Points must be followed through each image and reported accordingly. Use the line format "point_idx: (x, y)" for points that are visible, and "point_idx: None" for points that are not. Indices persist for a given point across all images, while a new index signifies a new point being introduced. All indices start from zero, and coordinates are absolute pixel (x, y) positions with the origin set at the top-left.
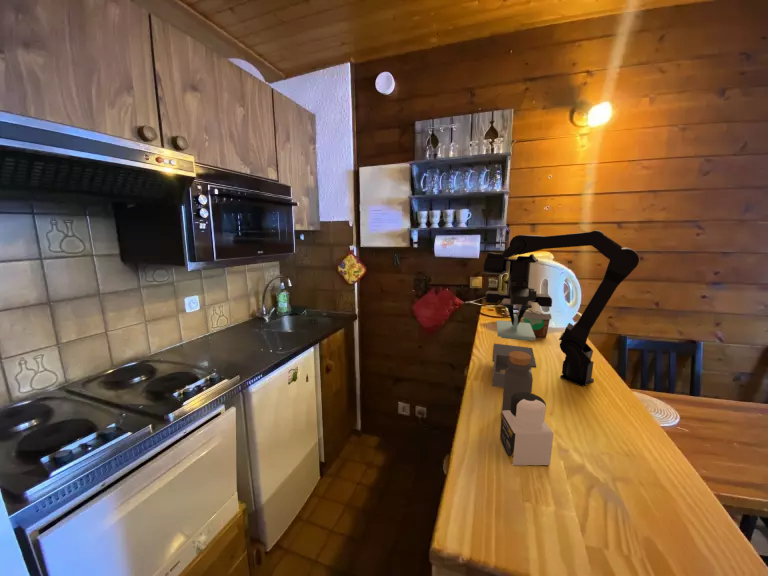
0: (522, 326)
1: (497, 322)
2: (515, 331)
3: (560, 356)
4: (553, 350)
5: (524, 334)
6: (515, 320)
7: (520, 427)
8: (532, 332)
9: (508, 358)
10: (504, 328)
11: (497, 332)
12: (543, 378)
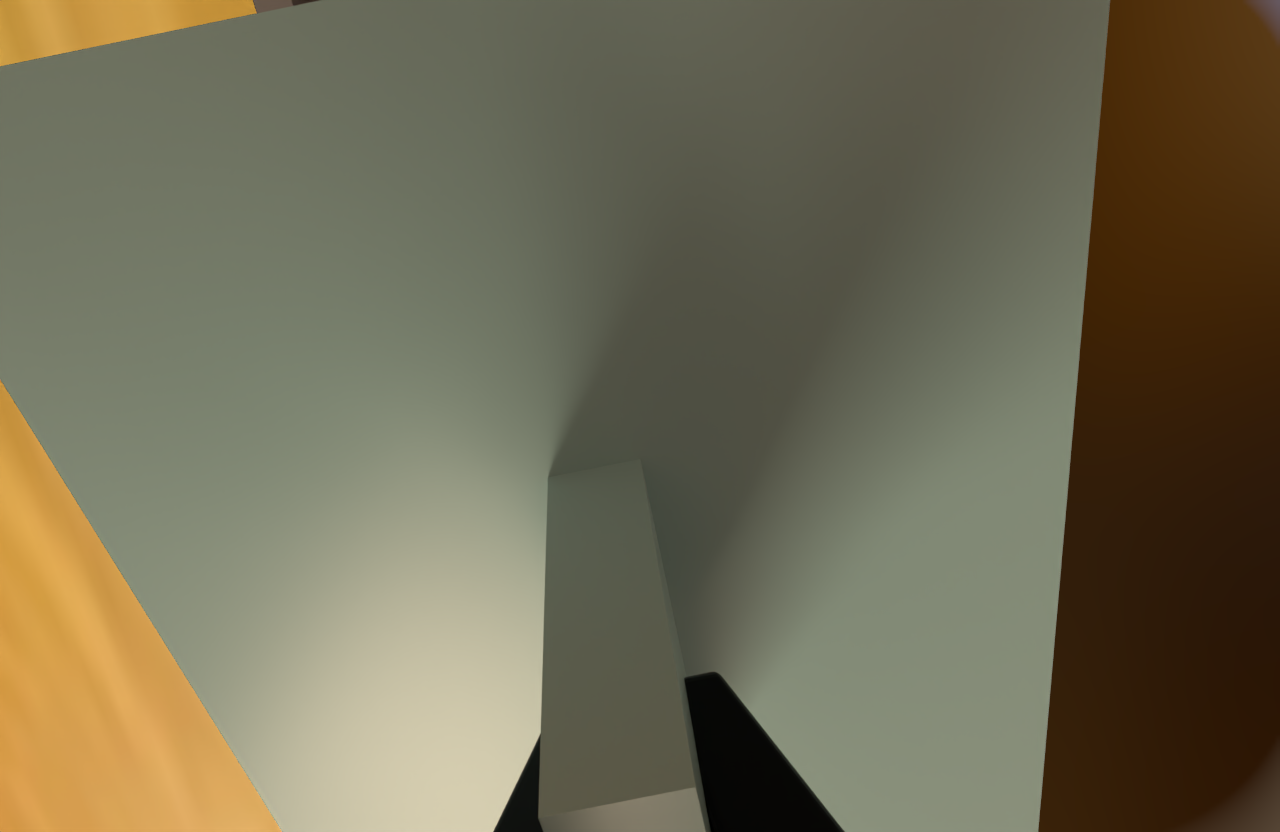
0: (490, 821)
1: (1029, 807)
2: (576, 404)
3: (167, 726)
4: (270, 819)
5: (271, 260)
6: (634, 704)
7: None
8: (139, 547)
9: None
10: (883, 509)
11: (1063, 181)
12: (123, 10)
